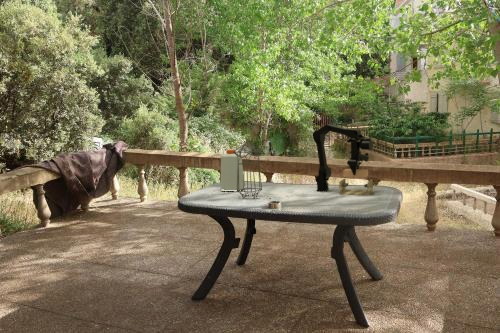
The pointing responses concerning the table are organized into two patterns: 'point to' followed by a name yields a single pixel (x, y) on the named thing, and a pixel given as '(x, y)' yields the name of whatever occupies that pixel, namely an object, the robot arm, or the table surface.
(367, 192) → the shelf frame
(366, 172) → the tan rectangular block
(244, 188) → the geometric lantern
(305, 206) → the table surface
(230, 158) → the plastic bottle
